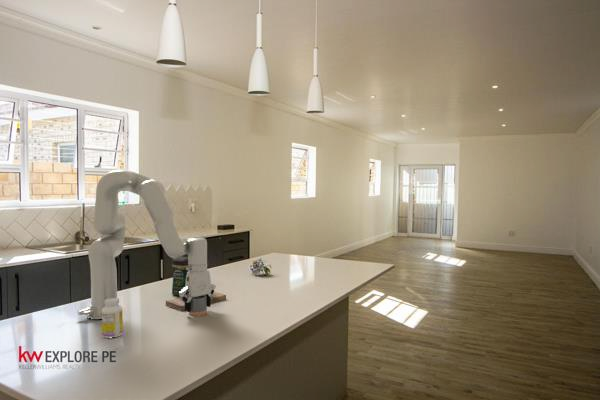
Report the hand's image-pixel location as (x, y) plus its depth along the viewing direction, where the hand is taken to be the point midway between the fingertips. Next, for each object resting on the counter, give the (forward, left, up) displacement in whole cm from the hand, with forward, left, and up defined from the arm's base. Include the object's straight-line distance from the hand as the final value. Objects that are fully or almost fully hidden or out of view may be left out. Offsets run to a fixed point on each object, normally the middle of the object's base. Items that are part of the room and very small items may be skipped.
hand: (198, 308), depth 170 cm
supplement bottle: (-35, +1, -2) cm, 35 cm away
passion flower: (+68, +35, -2) cm, 77 cm away
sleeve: (0, 0, -2) cm, 2 cm away
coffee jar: (+12, +30, -2) cm, 32 cm away
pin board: (+9, +14, -2) cm, 17 cm away
